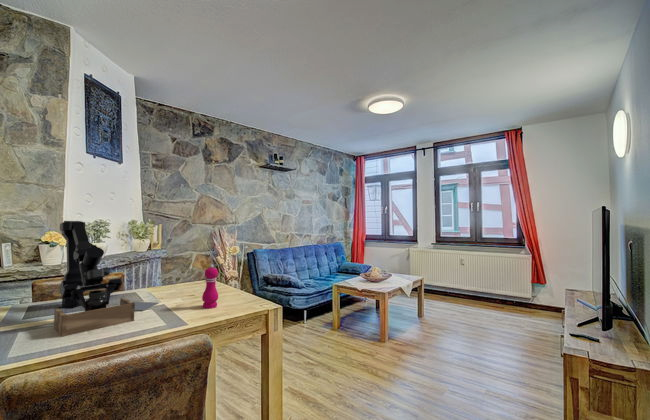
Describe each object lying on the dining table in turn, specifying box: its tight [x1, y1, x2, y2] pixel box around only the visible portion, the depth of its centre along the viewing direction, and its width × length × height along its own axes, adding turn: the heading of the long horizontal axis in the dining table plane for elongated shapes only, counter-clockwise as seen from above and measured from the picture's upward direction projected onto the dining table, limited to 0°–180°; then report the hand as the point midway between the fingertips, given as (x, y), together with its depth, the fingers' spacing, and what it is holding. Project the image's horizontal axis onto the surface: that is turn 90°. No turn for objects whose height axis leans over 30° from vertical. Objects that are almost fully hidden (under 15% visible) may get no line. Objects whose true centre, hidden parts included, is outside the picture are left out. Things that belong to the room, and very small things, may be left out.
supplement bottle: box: [83, 289, 108, 312], centre depth 118 cm, size 7×7×12 cm
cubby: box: [53, 297, 135, 337], centre depth 117 cm, size 12×22×7 cm, turn 142°
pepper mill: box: [201, 263, 219, 309], centre depth 144 cm, size 7×7×20 cm
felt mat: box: [132, 301, 159, 312], centre depth 140 cm, size 12×12×1 cm
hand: (97, 306), depth 117 cm, fingers closed on supplement bottle, 7 cm apart
